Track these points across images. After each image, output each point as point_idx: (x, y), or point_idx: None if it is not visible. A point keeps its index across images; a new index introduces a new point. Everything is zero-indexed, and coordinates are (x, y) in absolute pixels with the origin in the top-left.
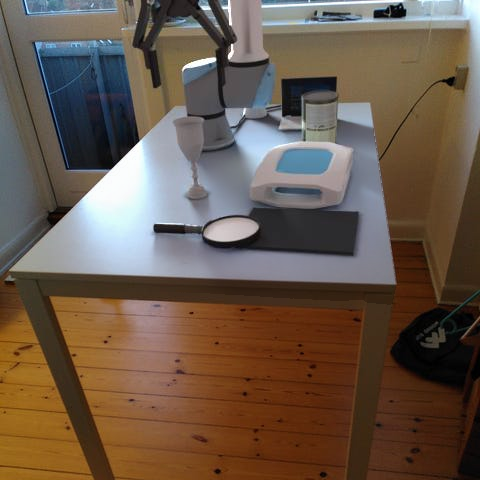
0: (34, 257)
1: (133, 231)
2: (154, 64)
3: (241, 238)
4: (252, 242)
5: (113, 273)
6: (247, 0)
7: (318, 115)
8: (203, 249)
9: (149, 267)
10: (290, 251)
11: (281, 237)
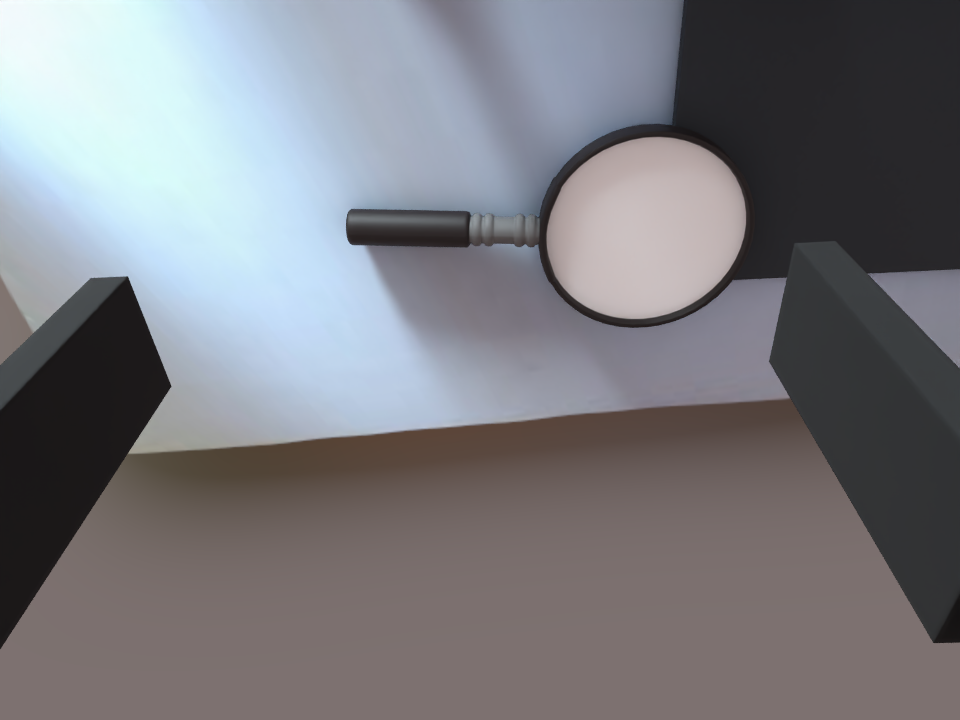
0: None
1: (268, 225)
2: (58, 506)
3: (691, 287)
4: None
5: (362, 433)
6: None
7: None
8: (559, 295)
9: (441, 398)
10: None
11: (819, 213)
